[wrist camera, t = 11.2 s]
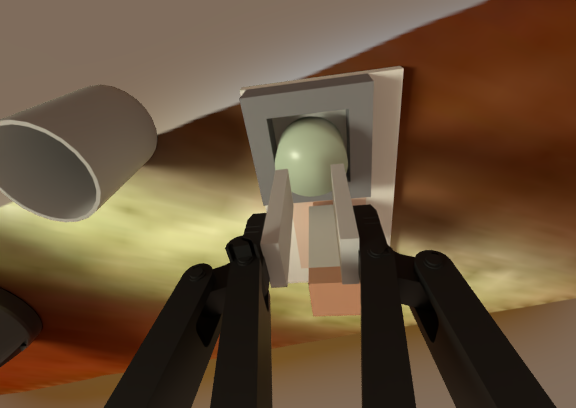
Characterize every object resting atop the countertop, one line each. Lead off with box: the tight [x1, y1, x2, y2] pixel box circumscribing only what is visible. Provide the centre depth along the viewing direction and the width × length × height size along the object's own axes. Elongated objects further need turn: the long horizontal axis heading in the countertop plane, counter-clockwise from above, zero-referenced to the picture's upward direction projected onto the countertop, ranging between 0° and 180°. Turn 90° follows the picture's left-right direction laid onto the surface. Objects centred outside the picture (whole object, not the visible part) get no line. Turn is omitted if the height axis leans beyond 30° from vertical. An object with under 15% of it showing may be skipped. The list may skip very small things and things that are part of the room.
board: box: [239, 66, 404, 283], centre depth 27 cm, size 12×22×4 cm, turn 8°
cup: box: [0, 85, 157, 222], centre depth 22 cm, size 7×10×9 cm
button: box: [275, 116, 348, 197], centre depth 21 cm, size 5×5×3 cm
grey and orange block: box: [308, 200, 361, 316], centre depth 24 cm, size 4×4×10 cm
